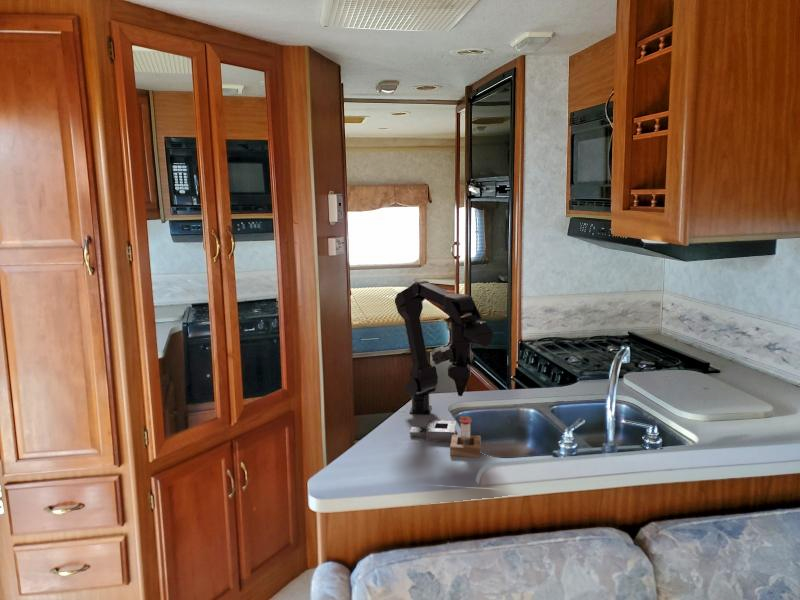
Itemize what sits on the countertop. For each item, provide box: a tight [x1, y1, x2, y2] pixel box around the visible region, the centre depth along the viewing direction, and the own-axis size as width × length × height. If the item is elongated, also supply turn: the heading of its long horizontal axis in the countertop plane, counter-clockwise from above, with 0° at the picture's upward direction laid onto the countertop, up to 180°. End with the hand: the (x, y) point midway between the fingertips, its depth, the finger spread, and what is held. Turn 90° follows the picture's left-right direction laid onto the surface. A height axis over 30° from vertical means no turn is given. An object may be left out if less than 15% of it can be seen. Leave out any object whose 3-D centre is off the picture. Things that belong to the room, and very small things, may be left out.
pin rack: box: [449, 434, 482, 458], centre depth 168 cm, size 8×8×2 cm
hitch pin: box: [459, 415, 472, 445], centre depth 167 cm, size 3×3×9 cm
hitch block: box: [409, 419, 457, 443], centre depth 177 cm, size 8×13×3 cm, turn 81°
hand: (461, 390), depth 178 cm, fingers open, 9 cm apart
